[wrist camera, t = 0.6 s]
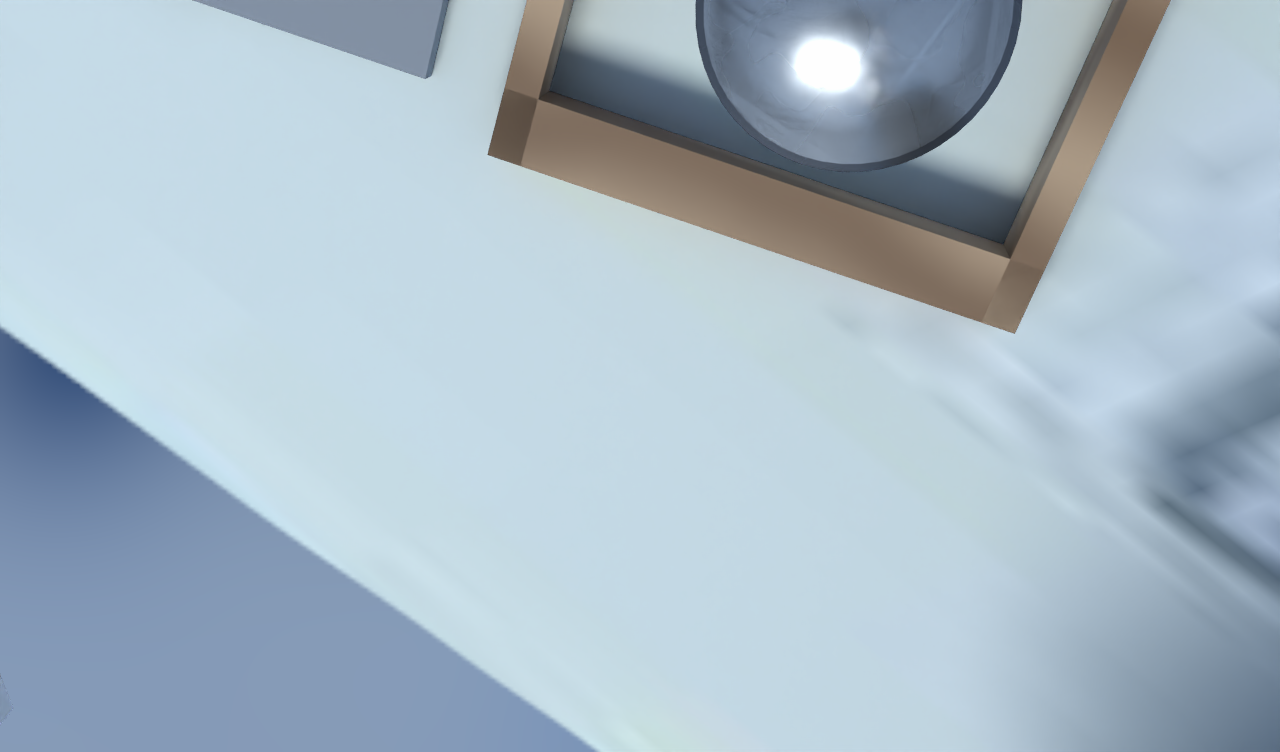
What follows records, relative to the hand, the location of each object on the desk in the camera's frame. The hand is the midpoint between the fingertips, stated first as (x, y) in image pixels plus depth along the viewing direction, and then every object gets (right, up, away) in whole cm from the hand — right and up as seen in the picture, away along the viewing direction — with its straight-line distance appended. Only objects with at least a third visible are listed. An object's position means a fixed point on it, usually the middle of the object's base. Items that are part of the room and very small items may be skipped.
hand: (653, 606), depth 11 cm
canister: (+6, +13, +23) cm, 27 cm away
